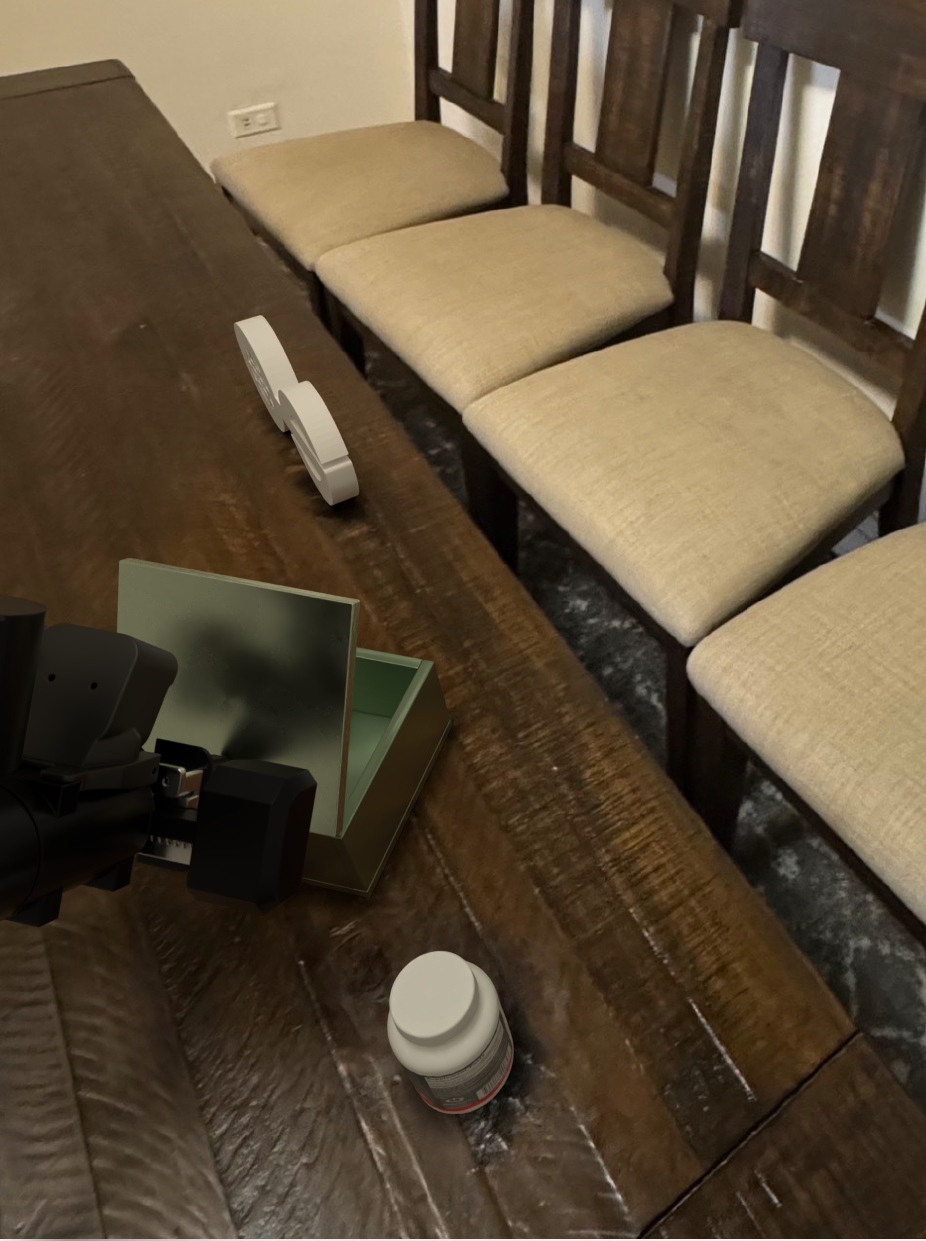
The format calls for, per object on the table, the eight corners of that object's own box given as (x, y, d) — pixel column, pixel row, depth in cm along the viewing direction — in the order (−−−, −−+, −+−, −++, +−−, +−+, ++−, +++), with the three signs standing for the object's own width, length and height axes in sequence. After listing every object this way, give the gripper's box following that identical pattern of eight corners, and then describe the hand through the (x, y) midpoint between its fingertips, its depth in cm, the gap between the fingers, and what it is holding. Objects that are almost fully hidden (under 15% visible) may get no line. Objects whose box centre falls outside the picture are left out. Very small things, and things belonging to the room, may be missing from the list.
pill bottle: (403, 1035, 55) (363, 962, 48) (499, 992, 57) (473, 917, 50) (426, 1136, 52) (386, 1074, 45) (527, 1088, 53) (504, 1021, 47)
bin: (272, 690, 71) (240, 624, 66) (452, 725, 69) (434, 661, 64) (165, 852, 62) (119, 791, 57) (370, 898, 60) (341, 839, 55)
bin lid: (129, 557, 55) (118, 560, 54) (360, 599, 53) (353, 603, 52) (121, 783, 57) (110, 789, 56) (343, 831, 55) (335, 838, 55)
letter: (257, 394, 95) (223, 302, 88) (280, 386, 96) (248, 295, 89) (343, 528, 83) (311, 434, 76) (368, 517, 84) (340, 424, 77)
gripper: (228, 691, 38) (406, 648, 54) (-197, 610, 41) (92, 591, 56) (179, 981, 38) (372, 854, 54) (-244, 882, 40) (58, 788, 56)
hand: (221, 765), depth 55 cm, fingers closed
